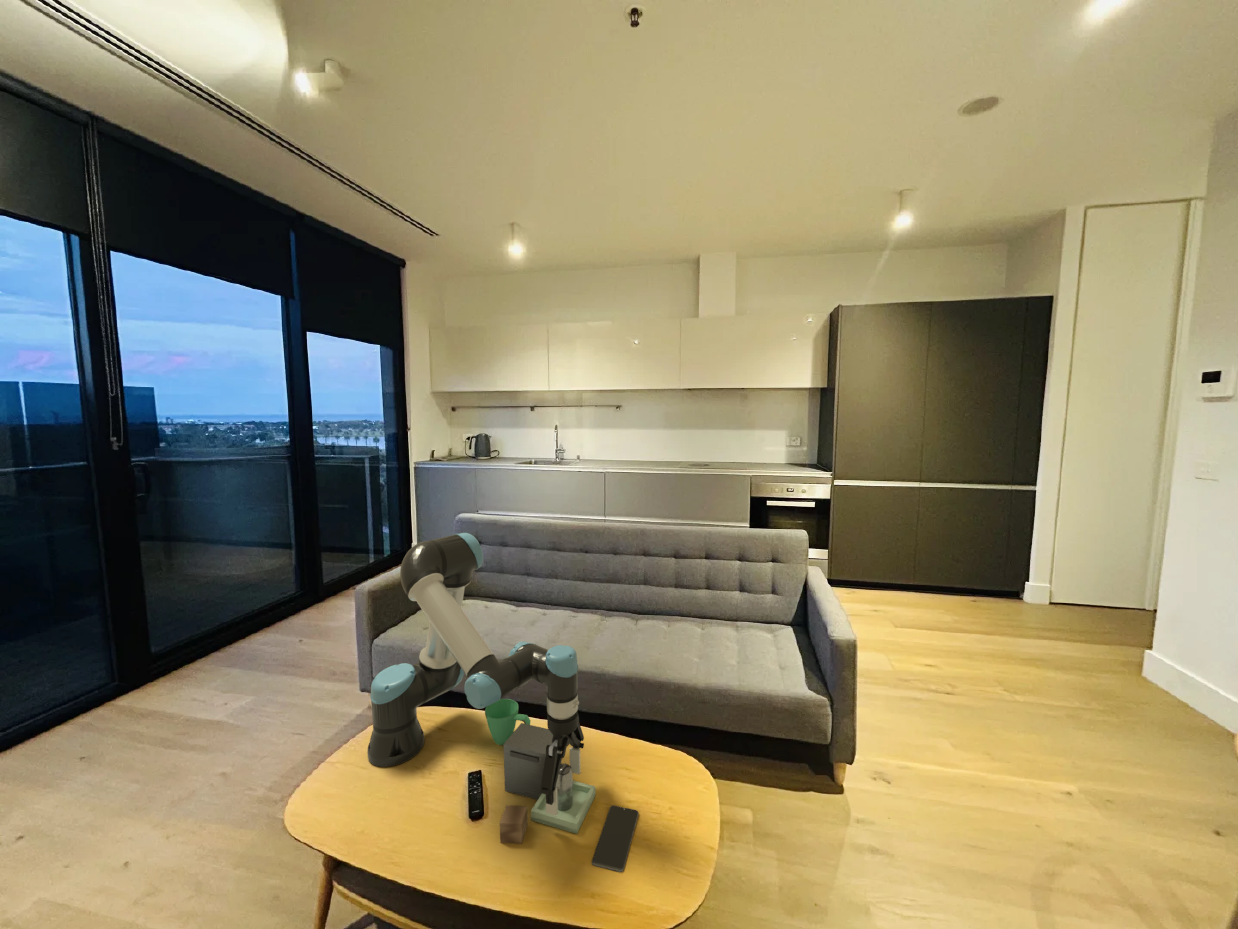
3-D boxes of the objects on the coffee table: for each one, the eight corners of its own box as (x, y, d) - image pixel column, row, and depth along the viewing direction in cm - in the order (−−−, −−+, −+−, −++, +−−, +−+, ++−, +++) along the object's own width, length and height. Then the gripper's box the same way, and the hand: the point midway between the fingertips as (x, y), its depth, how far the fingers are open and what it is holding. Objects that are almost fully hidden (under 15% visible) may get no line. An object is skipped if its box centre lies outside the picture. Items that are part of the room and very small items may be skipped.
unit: (504, 791, 124) (502, 745, 122) (523, 765, 133) (522, 721, 132) (545, 803, 120) (544, 755, 119) (562, 775, 129) (561, 730, 128)
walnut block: (500, 843, 109) (499, 823, 108) (506, 824, 114) (506, 805, 113) (521, 844, 109) (521, 824, 108) (527, 825, 114) (526, 806, 113)
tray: (531, 820, 115) (531, 811, 115) (553, 784, 126) (553, 775, 126) (576, 834, 111) (576, 824, 111) (595, 795, 122) (595, 786, 122)
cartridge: (552, 808, 117) (551, 772, 116) (559, 795, 121) (559, 760, 120) (568, 813, 116) (567, 776, 115) (575, 799, 120) (575, 764, 119)
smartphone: (590, 863, 103) (610, 804, 119) (590, 867, 103) (610, 808, 119) (623, 871, 101) (639, 810, 117) (623, 875, 101) (639, 814, 117)
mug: (479, 746, 141) (477, 714, 140) (499, 726, 150) (498, 696, 149) (521, 758, 136) (520, 725, 135) (539, 737, 145) (538, 706, 144)
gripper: (553, 748, 103) (555, 837, 105) (595, 686, 127) (596, 760, 129) (523, 740, 105) (525, 828, 108) (569, 681, 129) (570, 754, 131)
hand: (564, 791), depth 118 cm, fingers open, 13 cm apart
